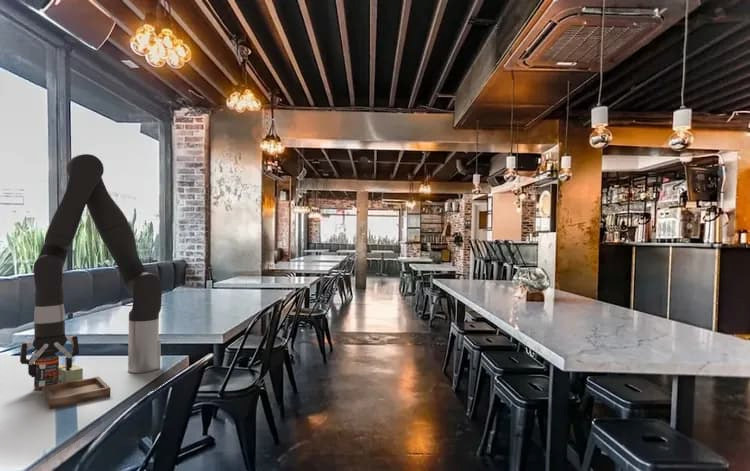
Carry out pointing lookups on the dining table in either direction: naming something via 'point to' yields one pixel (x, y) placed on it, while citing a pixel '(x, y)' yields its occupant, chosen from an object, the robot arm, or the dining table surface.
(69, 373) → the olive block
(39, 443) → the dining table surface
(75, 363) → the beech block
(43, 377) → the supplement bottle
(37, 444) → the dining table surface
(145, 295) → the robot arm
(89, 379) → the walnut tray
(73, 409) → the dining table surface
